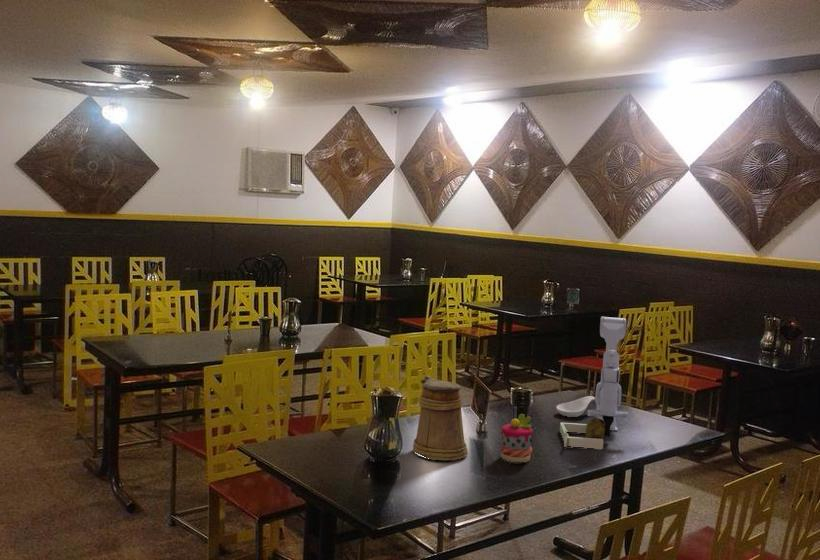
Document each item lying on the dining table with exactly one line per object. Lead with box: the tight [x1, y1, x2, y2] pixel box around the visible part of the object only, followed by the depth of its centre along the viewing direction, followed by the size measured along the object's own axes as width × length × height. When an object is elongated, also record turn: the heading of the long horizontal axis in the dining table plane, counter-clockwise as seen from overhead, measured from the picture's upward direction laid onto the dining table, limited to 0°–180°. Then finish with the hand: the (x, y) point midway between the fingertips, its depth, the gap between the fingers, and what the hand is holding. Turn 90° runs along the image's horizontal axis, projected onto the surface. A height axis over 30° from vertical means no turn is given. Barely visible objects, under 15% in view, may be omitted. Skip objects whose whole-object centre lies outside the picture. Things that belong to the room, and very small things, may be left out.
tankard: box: [412, 374, 469, 461], centre depth 256 cm, size 18×24×25 cm
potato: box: [585, 417, 605, 439], centre depth 276 cm, size 8×13×8 cm, turn 144°
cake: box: [499, 413, 533, 462], centre depth 252 cm, size 10×11×15 cm
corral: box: [559, 422, 604, 450], centre depth 278 cm, size 19×13×4 cm
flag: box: [563, 430, 567, 448], centre depth 266 cm, size 3×1×7 cm, turn 175°
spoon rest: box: [555, 395, 598, 418], centre depth 314 cm, size 24×12×7 cm, turn 122°
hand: (606, 436), depth 277 cm, fingers closed, pressing on potato
